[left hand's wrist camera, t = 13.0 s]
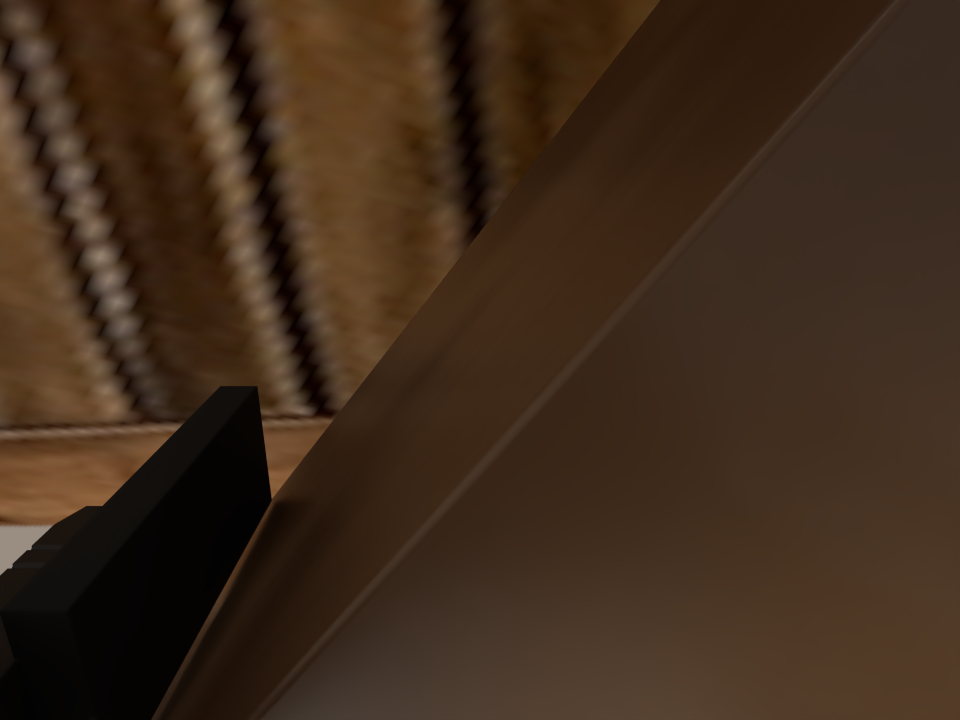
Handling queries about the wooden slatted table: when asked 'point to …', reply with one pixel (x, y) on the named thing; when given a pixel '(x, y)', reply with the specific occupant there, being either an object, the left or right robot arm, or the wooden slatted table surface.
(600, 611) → the bar
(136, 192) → the wooden slatted table surface
